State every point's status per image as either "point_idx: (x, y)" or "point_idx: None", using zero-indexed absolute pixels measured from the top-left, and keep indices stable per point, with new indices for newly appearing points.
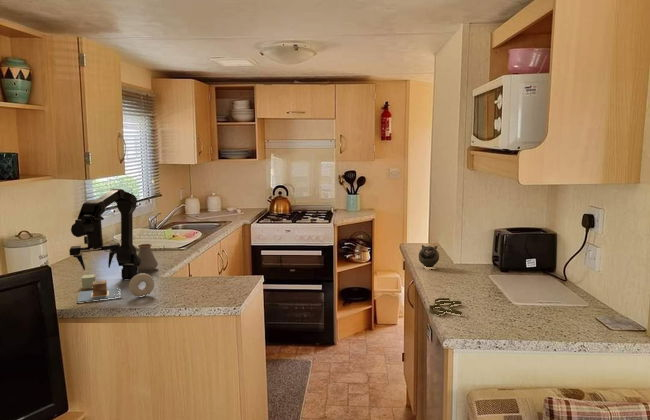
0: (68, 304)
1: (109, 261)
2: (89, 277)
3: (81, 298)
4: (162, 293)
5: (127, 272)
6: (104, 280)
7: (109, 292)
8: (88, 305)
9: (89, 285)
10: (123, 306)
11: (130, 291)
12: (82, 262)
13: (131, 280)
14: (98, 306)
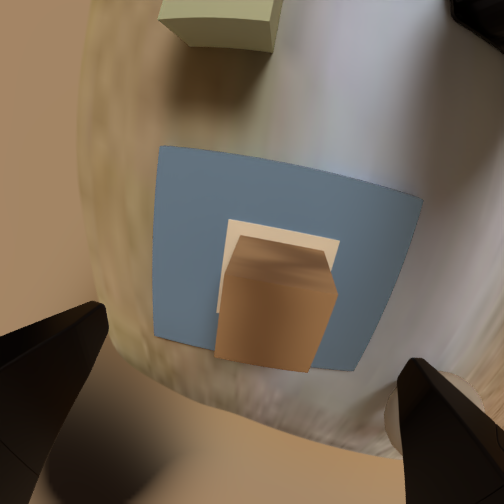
0: (124, 314)
1: (411, 477)
2: (222, 14)
3: (169, 299)
4: (481, 362)
5: (498, 15)
6: (321, 299)
7: (332, 275)
8: (205, 373)
9: (231, 40)
10: (320, 429)
11: (384, 412)
12: (47, 438)
13: (401, 454)
14: (242, 399)
